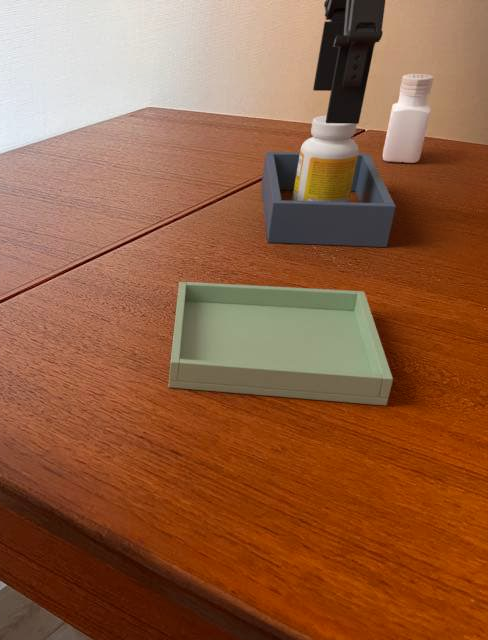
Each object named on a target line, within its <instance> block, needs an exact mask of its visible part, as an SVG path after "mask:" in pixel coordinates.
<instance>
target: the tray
mask: <svg viewBox="0 0 488 640" xmlns="http://www.w3.org/2000/svg"><path fill="white" fill-rule="evenodd" d="M176 300H177V301H176V306H175V307H176V308H175V317H174V326H173V334H172V335H173V337H172V345H171V353H170V362H169V374H168V385H167V387H168V388H169V389H170V388H171V389H182V390H193V391H204V392H205V391H207V392H215V393H216V392H217V393H228V394H229V393H230V394H240V395H241V394H244V395H252V396H253V395H254V396H266V397H277V398H288V399H301V400H314V401H325V402H335V403H336V402H337V403H338V402H339V403H348V404H349V403H350V404H359V405H360V404H361V405H373V406H385V407H386V406H388V401H389V397H390V393H391V389H392V386H393V382H394V377H393V374H392V372H391V368H390V366H389V361H388V360H387V356H386V353H385V349H384V347H383V344H382V342H381V341H382V340H381V338H380V335H379V332H378V329H377V326H376V323H375V319H374V317H373V314H372V313H373V312H372V310H371V307H370V304H369V301H368V299H367V296H366V293H365V291H364V290H349V289H348V290H347V289H345V290H344V289H329V288H328V289H327V288H326V289H325V288H310V287H309V288H308V287H307V288H306V287H290V286H274V285H273V286H272V285H253V284H252V285H251V284H232V283H215V282H214V283H213V282H196V281H195V282H194V281H179V282H178V289H177V298H176Z"/></svg>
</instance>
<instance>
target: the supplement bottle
mask: <svg viewBox="0 0 488 640" xmlns="http://www.w3.org/2000/svg"><path fill="white" fill-rule="evenodd" d="M326 116H327V114H326V115H320V116H316V117H314V118H313V119H312V123H311V129H310V134H311V136H312V137H309V138H307V139H306V140H305V141H304V142H303V143H302V144H301V147H300V150H299V153H300V155H299V162H298V168H297V174H296V180H295V186H294V190H293V192H292V193H293V194H292V198H291V201H319V202H350V196H351V192H352V191H351V187H352V182H353V177H354V171H355V166H356V162H357V158H358V153H360V152H359V151H360V150H359V149H360V148H359V145H358V144H357V142H356V141H355V140H353V139H352V137H354V136H355V134H356V131H357V125H358V124H343V123H326Z"/></svg>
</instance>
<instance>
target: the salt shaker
mask: <svg viewBox="0 0 488 640" xmlns="http://www.w3.org/2000/svg"><path fill="white" fill-rule="evenodd" d="M433 83H434V76H433V75H432V74H427V73H408V74H407V73H406V74H403V76H401V83H400V86H399V91H398V93H399V96H398V100H397V102H395V103H393V104H392V105H391V111H390V114H389V115H390V116H389V121H388V124H387V129H386V136H385V139H384V143H383V144H384V145H383V148H382V149H383V150H382V160H383V161H384V162H388V163H402V162H403V164H415V163H417V162H419V161H420V159H421V155H422V151H423V147H424V142H425V137H426V133H427V129H428V125H429V119H430V116H431V112H432V111H431V109H432V107H431V105H430V104H428V100H429V97H430V94H431V91H432V87H433Z"/></svg>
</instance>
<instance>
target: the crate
mask: <svg viewBox="0 0 488 640" xmlns="http://www.w3.org/2000/svg"><path fill="white" fill-rule="evenodd" d="M264 155H265V156H264V162H263V171H262V178H261V185H260V188H261V189H260V190H261V198H262V206H263V215H264V223H265V224H264V225H265V233H266V240H267V243H271V244H272V243H273V244H293V245H294V244H295V245H320V246H341V247H342V246H344V247H366V248H367V247H368V248H370V247H371V248H388V243H389V239H390V234H391V231H392V225H393V221H394V217H395V212H396V208H397V207H396V204H395V202H394V200H393V198H392V196H391V194H390V192H389V190H388V188H387V186H386V184H385V182H384V180H383V178H382V176H381V174H380V173H379V170H378V169H377V166H376V164H375V161H374V160H373V159H372V157H371V154H370V153H360V152H358V158H357V162H356V166H355V171H354V177H353V182H352V187H351V192H355V194H356V196H357V198H358V201H359V202H354V201H353V202H350V201H349V202H319V201H292V200H282V194H281V190H282V191H283V190H284V191H294V186H295V180H296V174H297V168H298V162H299V155H300V152H297V151H296V152H291V151H290V152H289V151H287V152H286V151H266V152H265V154H264Z"/></svg>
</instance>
